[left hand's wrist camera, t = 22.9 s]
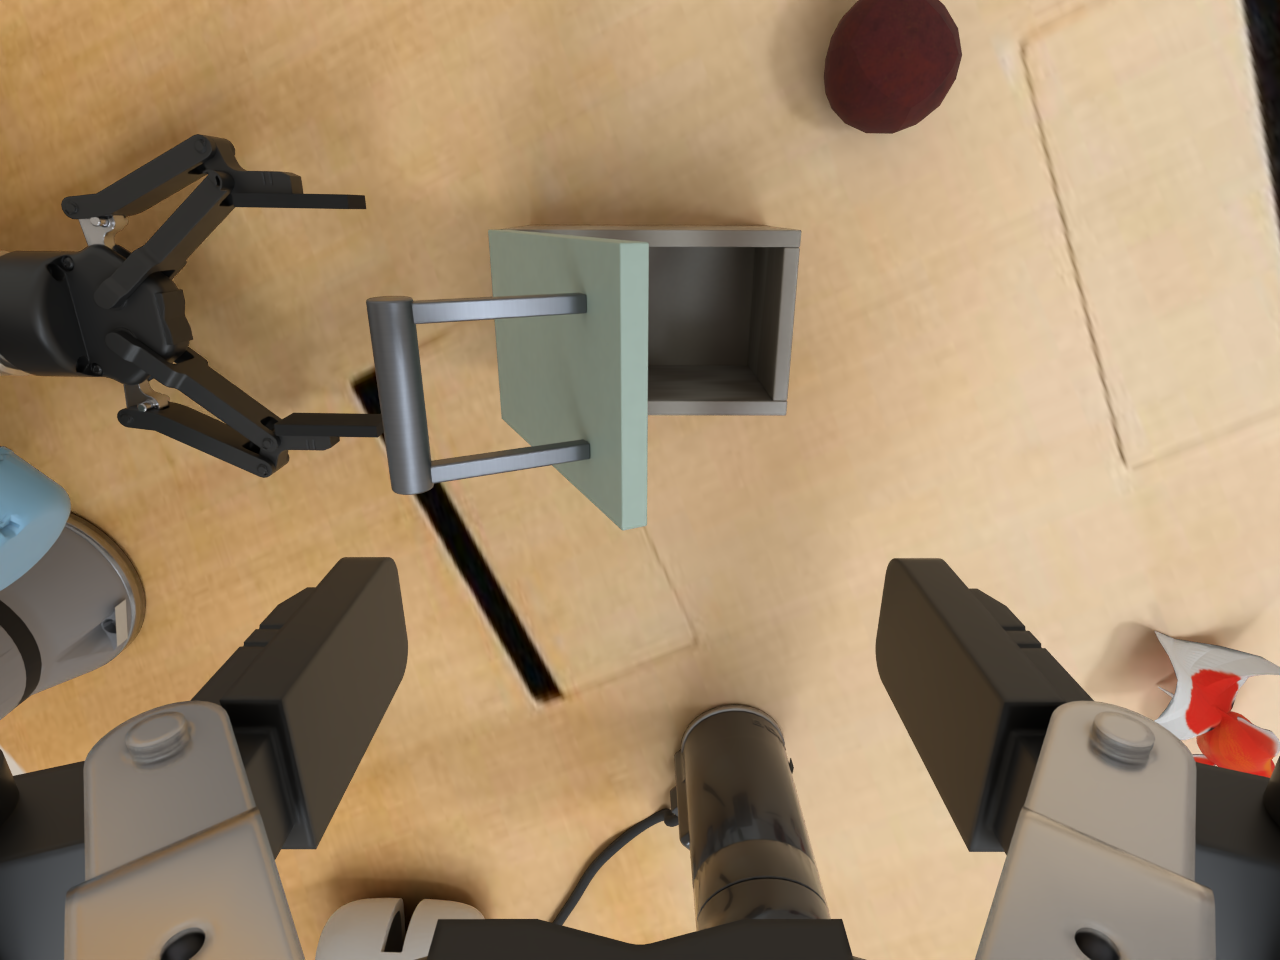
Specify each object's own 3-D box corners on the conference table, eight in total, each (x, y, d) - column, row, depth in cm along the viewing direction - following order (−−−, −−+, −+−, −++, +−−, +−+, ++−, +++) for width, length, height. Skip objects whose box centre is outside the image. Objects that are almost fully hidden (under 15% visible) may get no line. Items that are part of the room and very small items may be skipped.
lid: (649, 242, 23) (370, 247, 19) (647, 525, 27) (413, 574, 23) (507, 229, 37) (330, 231, 33) (519, 416, 41) (361, 436, 37)
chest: (766, 225, 48) (801, 230, 37) (756, 374, 51) (786, 415, 41) (529, 224, 47) (499, 229, 37) (537, 374, 51) (512, 415, 41)
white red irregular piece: (1143, 814, 61) (1262, 856, 51) (1070, 643, 62) (1173, 652, 52) (1233, 764, 63) (1364, 795, 53) (1161, 600, 64) (1276, 601, 55)
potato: (867, -24, 42) (909, -67, 36) (955, 65, 44) (1011, 40, 37) (786, 85, 44) (812, 64, 38) (874, 166, 46) (913, 159, 39)
